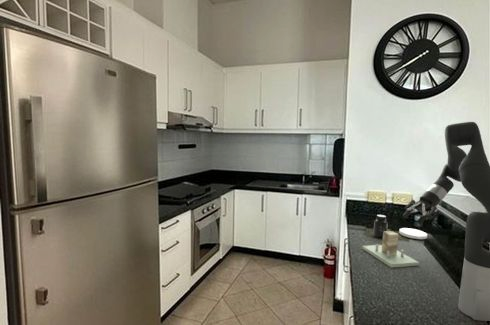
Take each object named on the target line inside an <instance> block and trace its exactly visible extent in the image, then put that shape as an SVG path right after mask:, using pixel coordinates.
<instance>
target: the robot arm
mask: <svg viewBox="0 0 490 325" xmlns="http://www.w3.org/2000/svg"><path fill="white" fill-rule="evenodd" d="M444 141H445V148H446V152H447V163H446V164H445V165H444V166H443V168H442V170H441V173H440V175H439V176H438V178H437V179H436V181H434V182H433V183H432V184H431V185H430V186H429V187H428V188H427V189H426V190H425V191H424V192H423V193H422V194H421V196H420V197H419V200H415V199H412V200H410V201H409V203H407V204H406V205H405V206H404V208H405V211H404V213H403V214H402V217H403V219H408V217H409V216H410V215H411V214H412V213H417V212H419V213H421V214H422V215H420V216H419V218H418V219H417V220H416V222H417V224H418V225H422V224H423V223H424V222H425V221H426V220H428V219H429V220H432V219H433V218H434V217H435V216H436V214H438V212H439V209H438V207H437V206H439V204H440V203H441V202H442V201H443V200H444V198H445V197H446V196H447V194H449V192H451V190H452V189H453V188H454V186H455V185H454V182H453V181H452V180H451V179H453V180H454V181H456V182H460V183H461V184H462V187H463V188H464V189H465V190H466V191H467V192H468V193H469V194H470V196H472V197H474V199H476V200H477V202H479V203H480V204H481V205H482V206H483V207H484V209H485V210H486V212H483V211H471V212H469V214H468V215H467V217H466V222H465V223H466V224H465V239H464V255H463V256H464V258H463V265H462V272H461V280H460V289H459V298H458V303H457V304H458V305H457V307H458V310H459V311H460V312H461V313H463V314H464V315H465V316H468V317H470V318H471V319H473V321H480V322H487V321H490V250H488V249H486V248H484V247H483V243H489V244H490V163H489V160H488V157H487V155H486V151H485V149H484V148H485V147H484V144H483V140H482V135H481V131H480V128H479V125H478V124H477V123H476V122H475V121H464V122H458V123H452V124H448V125H447V126H446V127H445V129H444ZM462 146H471V147H470V150H469V151H468V153H466V152H465V151H464V149H462V148H461V147H462Z"/></svg>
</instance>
